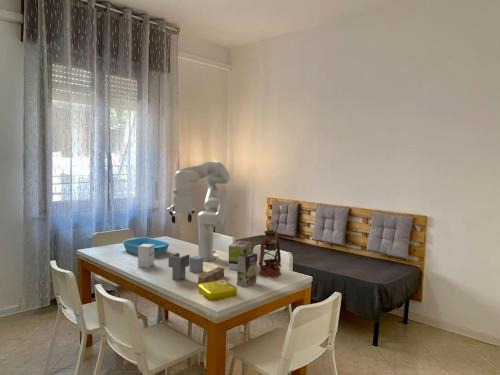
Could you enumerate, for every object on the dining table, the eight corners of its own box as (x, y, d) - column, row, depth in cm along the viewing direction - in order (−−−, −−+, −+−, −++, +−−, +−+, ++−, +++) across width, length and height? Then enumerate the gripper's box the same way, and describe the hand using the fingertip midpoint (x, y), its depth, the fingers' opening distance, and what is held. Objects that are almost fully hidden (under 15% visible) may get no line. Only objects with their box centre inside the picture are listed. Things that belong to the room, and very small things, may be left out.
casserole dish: (117, 249, 261) (117, 239, 260) (144, 244, 277) (144, 235, 277) (146, 260, 237) (147, 249, 236) (175, 254, 253) (175, 243, 253)
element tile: (197, 292, 184) (197, 282, 183) (223, 287, 191) (224, 278, 191) (210, 302, 171) (210, 292, 170) (238, 297, 179) (238, 287, 178)
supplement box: (148, 267, 220) (149, 246, 219) (137, 266, 222) (137, 246, 221) (154, 264, 227) (154, 244, 226) (143, 263, 229) (143, 243, 228)
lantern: (267, 280, 204) (268, 226, 201) (251, 274, 214) (253, 222, 211) (288, 274, 215) (290, 223, 212) (272, 269, 224) (274, 220, 222)
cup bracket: (177, 275, 207) (177, 252, 206) (189, 277, 204) (189, 254, 203) (168, 279, 200) (168, 256, 199) (180, 282, 197) (180, 258, 196)
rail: (217, 275, 210) (218, 266, 210) (224, 276, 208) (224, 268, 208) (198, 286, 192) (198, 276, 192) (204, 287, 190) (204, 278, 190)
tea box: (236, 262, 236) (237, 239, 235) (251, 264, 233) (252, 241, 232) (228, 269, 222) (228, 245, 221) (243, 271, 219) (244, 246, 218)
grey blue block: (194, 268, 220) (194, 255, 220) (202, 270, 218) (203, 257, 217) (189, 271, 216) (189, 257, 215) (198, 272, 213) (198, 259, 212)
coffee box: (245, 287, 191) (246, 257, 189) (236, 284, 195) (237, 255, 193) (256, 283, 198) (257, 254, 196) (247, 280, 202) (248, 251, 200)
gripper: (170, 193, 202) (169, 224, 203) (198, 193, 212) (198, 222, 213) (165, 192, 208) (164, 222, 210) (193, 192, 218) (192, 220, 219)
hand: (181, 222), depth 211 cm, fingers open, 9 cm apart
